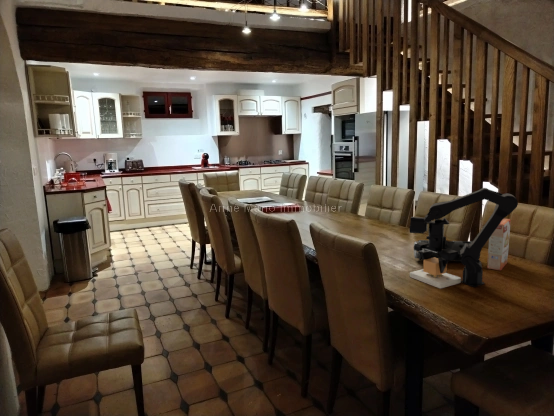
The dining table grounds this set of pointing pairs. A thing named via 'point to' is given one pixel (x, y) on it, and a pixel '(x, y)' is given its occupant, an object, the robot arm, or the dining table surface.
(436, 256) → the muzzle brake
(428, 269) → the plug
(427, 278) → the socket plate
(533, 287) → the dining table surface
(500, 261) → the cracker box
